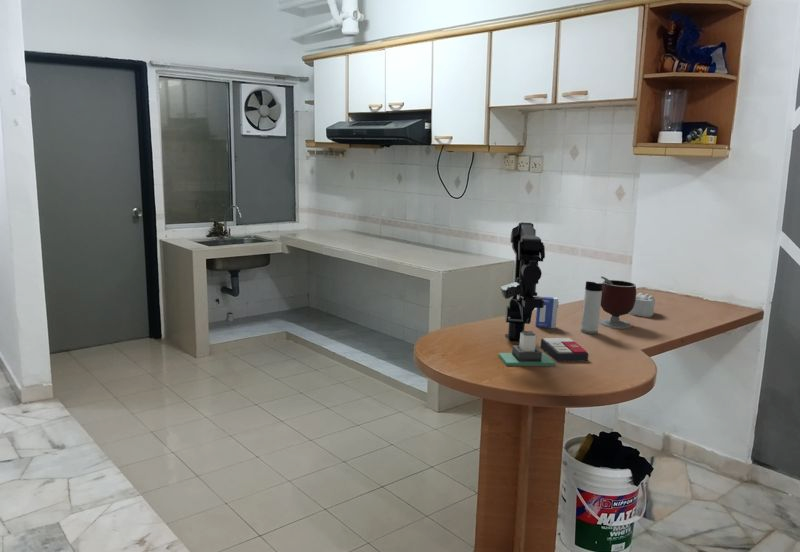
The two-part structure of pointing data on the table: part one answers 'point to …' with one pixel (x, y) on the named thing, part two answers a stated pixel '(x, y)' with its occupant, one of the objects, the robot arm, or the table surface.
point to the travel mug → (591, 307)
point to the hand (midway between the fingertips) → (524, 321)
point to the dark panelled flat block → (564, 349)
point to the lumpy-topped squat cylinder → (643, 305)
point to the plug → (527, 341)
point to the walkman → (547, 313)
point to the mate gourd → (617, 301)
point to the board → (526, 358)
